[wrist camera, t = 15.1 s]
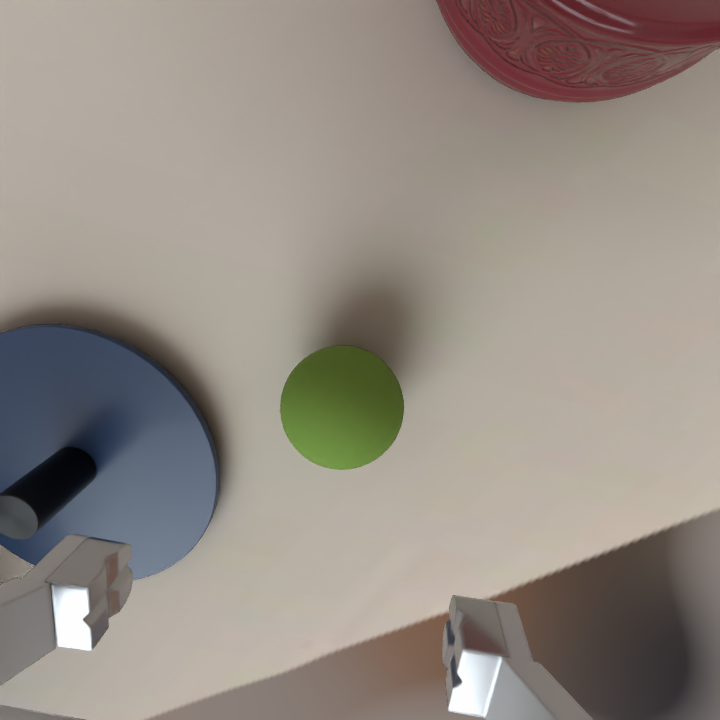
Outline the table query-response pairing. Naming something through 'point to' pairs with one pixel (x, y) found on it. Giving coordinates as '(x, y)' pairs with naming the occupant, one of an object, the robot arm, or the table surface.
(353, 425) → the guava
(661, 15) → the kitchen canister
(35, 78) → the table surface
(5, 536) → the pot lid
